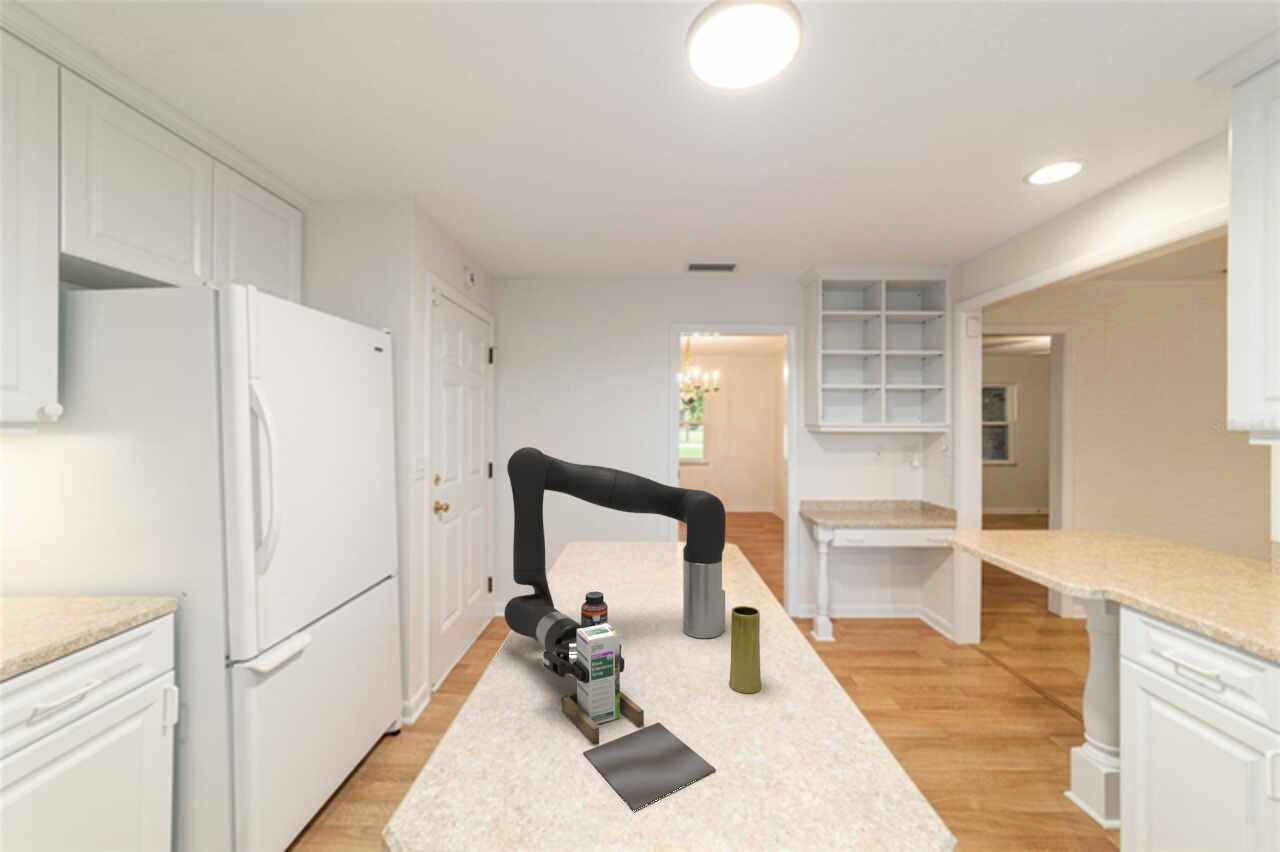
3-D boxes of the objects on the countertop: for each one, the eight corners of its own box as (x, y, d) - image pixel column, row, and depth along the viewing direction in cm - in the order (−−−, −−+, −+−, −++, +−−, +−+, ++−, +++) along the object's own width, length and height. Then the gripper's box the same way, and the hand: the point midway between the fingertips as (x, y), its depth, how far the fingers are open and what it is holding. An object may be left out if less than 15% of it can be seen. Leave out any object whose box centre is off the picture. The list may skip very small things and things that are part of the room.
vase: (763, 680, 100) (763, 607, 100) (759, 696, 95) (760, 618, 94) (731, 675, 102) (731, 603, 102) (726, 690, 97) (726, 614, 96)
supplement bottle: (603, 651, 113) (603, 599, 113) (577, 648, 114) (577, 597, 114) (610, 639, 119) (610, 590, 119) (585, 637, 120) (585, 589, 120)
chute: (549, 715, 89) (549, 700, 89) (619, 691, 96) (619, 677, 96) (634, 812, 67) (634, 792, 67) (715, 771, 74) (715, 753, 74)
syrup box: (588, 728, 85) (589, 639, 85) (576, 710, 90) (576, 627, 90) (620, 719, 87) (620, 633, 87) (606, 702, 93) (606, 621, 93)
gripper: (526, 626, 97) (566, 660, 83) (594, 610, 105) (641, 639, 91) (526, 666, 97) (566, 707, 83) (594, 647, 105) (641, 682, 91)
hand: (605, 671), depth 87 cm, fingers closed on syrup box, 6 cm apart
